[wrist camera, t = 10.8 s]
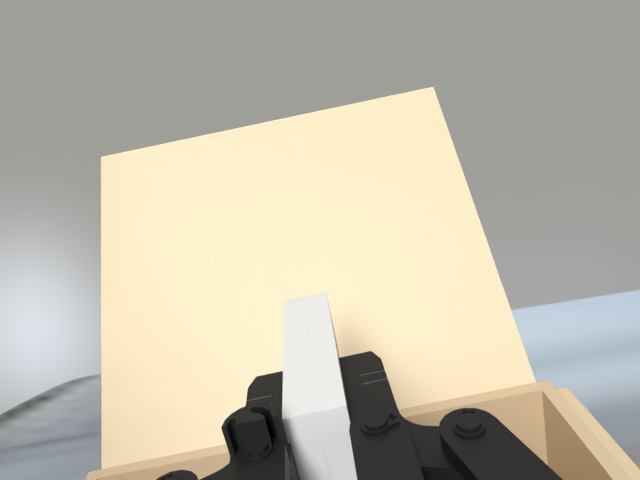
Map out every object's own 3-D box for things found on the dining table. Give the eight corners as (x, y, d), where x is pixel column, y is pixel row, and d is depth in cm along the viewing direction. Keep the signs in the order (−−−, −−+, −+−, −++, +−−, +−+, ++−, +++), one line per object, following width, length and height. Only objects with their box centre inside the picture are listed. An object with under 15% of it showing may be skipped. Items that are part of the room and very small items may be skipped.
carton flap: (101, 157, 31) (105, 162, 32) (101, 468, 24) (107, 468, 25) (433, 86, 31) (432, 93, 31) (535, 382, 24) (532, 383, 24)
